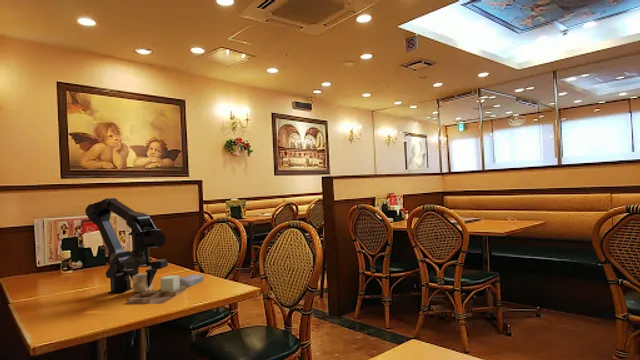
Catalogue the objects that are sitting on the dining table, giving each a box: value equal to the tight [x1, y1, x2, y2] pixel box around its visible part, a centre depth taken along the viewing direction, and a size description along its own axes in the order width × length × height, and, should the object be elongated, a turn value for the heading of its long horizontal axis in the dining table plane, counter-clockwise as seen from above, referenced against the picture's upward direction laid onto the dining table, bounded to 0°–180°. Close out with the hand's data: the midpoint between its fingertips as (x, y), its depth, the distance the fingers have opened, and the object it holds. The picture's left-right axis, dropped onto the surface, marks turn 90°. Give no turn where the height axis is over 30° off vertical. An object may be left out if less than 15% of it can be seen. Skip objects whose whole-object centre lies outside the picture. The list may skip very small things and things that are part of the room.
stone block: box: [179, 274, 205, 288], centre depth 162 cm, size 12×5×10 cm
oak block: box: [132, 272, 153, 293], centre depth 152 cm, size 5×5×6 cm
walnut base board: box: [125, 286, 187, 305], centre depth 144 cm, size 14×18×2 cm
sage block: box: [160, 274, 180, 291], centre depth 148 cm, size 5×5×6 cm
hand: (142, 286), depth 152 cm, fingers closed on oak block, 5 cm apart
